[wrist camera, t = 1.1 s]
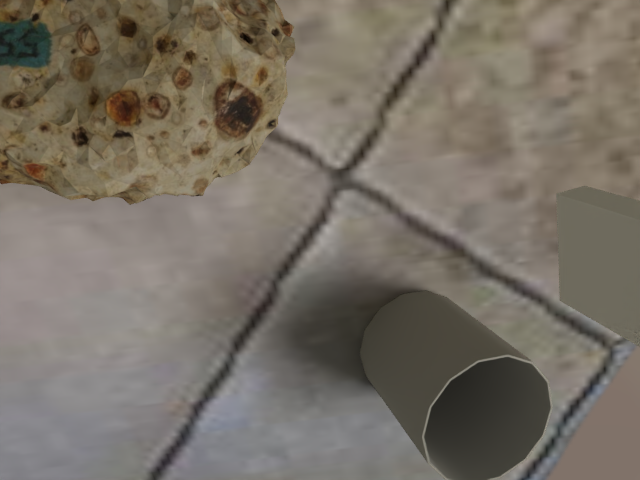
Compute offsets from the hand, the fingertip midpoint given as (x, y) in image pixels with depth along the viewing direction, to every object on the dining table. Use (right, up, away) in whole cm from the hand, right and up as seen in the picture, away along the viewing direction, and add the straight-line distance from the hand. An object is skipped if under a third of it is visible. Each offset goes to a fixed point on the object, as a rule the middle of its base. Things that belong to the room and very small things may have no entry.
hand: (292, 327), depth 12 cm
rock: (-12, +12, +18) cm, 25 cm away
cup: (+7, -6, +29) cm, 31 cm away
